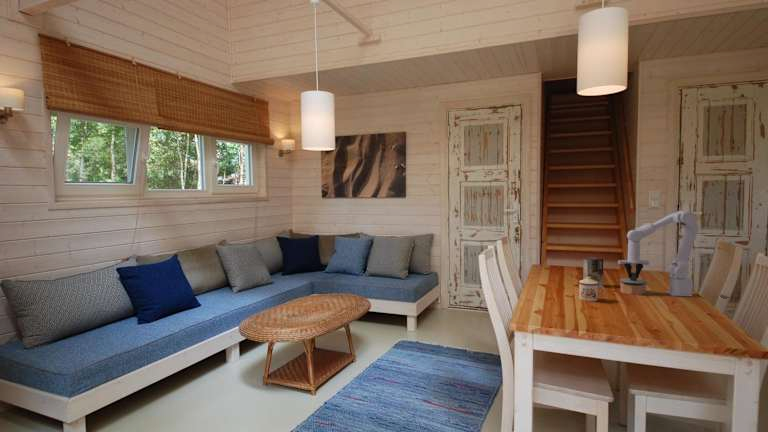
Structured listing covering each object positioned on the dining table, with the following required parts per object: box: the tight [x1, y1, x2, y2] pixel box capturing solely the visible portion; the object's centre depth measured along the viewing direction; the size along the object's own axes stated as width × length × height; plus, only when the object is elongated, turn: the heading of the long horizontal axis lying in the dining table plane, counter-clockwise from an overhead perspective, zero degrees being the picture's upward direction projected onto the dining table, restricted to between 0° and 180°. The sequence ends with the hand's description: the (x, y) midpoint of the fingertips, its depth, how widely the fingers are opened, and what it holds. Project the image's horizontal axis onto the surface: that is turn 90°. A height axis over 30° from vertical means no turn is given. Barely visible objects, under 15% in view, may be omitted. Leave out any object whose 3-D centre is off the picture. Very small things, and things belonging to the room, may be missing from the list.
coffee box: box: [582, 256, 604, 287], centre depth 250 cm, size 9×6×16 cm
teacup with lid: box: [578, 277, 606, 302], centre depth 220 cm, size 12×9×12 cm
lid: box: [619, 272, 648, 285], centre depth 234 cm, size 13×13×5 cm
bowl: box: [619, 282, 647, 296], centre depth 234 cm, size 11×11×5 cm
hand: (633, 277), depth 234 cm, fingers closed on lid, 3 cm apart
